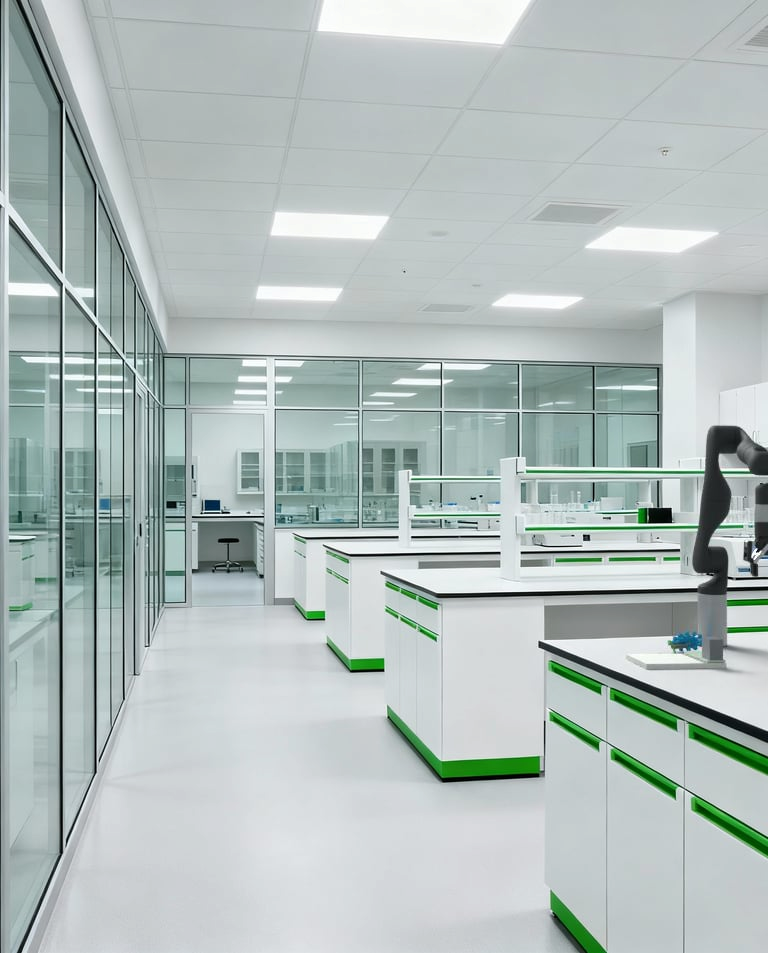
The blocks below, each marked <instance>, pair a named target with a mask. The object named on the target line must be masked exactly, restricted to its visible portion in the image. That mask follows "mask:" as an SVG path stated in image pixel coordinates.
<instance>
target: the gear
mask: <svg viewBox="0 0 768 953" xmlns="http://www.w3.org/2000/svg"><path fill="white" fill-rule="evenodd" d="M698 639H700V640H698ZM667 646H670V648H671V650H672V651H673V653H672V654H677V652H676V651H677V650H678V651H679V652H684V649H685V651H692V649H693V651H698V650H699V648H702V635H701V634H698V632H697V631H692V632H691V634H690V632H689V631H688V630H686V631H684V634H682V632H679V633H677V634H676V635H675V636H674V635H673V636H672V640H669V639H668V640H667ZM698 647H699V648H698Z"/></svg>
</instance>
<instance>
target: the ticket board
mask: <svg viewBox="0 0 768 953" xmlns="http://www.w3.org/2000/svg"><path fill="white" fill-rule="evenodd" d="M625 659H626V660H627V661H628V662H631V663H633V664H634V665H637V666H639V667H642V668H643V669H645V670H678V669H679V670H682V669H683V670H684V669H687V670H688V669H691V670H694V669H695V670H696V669H700V670H701V669H727V662H726V661H725V662H705V661H703V660H700V659H698V658H695V657H693V656H690V655H688V654H685V653H684V652H681V653H676V654H674V653H637V654H636V653H626V655H625Z"/></svg>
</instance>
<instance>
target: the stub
mask: <svg viewBox="0 0 768 953" xmlns="http://www.w3.org/2000/svg"><path fill="white" fill-rule="evenodd" d="M683 654H688V655H690V656H693V657H695V658H698V659H700V660H703V661H705V662H725V663H726V660H725V659H724V646H723V639H720V638H717V637H702V647H701V650H691V651H686V650H683Z"/></svg>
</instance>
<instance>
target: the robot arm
mask: <svg viewBox="0 0 768 953" xmlns="http://www.w3.org/2000/svg"><path fill="white" fill-rule="evenodd" d="M723 454H724V455H734V454H736V456H737V458H738V459H739V461H741V463H743V464H744V465H746V466H747V468H748V470H749V473H751V475H754V476H762V477H767V476H768V449H766V448H765V447H764V446H762V445H761V444H759V443H757V442H755V441H754V440H753V439H752V438H751V437H750V435H749V434H748V433H747V432H746V431H745V430H744V428H742V427H741V426H738V425H725V424H724V425H712V426H710V427H709V429H708V431H707V433H706V442H705V463H704V464H705V467H704V476H703V477H704V478H703V483H702V490H701V497H700V498H701V499H700V507H699V518H698V524H697V525H698V526H697V531H696V537H695V541H694V546H693V551H692V557H691V558H692V563H691V564H692V568H693V570H694V572H695V573H697V574H703V575H704V574H712V575H713V576H712V577H711V578H710V579H709V580H707V581H706V582H702V583H700V584H698V586H697V635H698V634H701V635H702V637H717V638H720V639H723V647H727V646H728V602H727V600H728V598H727V597H728V594H727V593H728V592H727V591H728V583H729V582H728V581H729V579H728V578H729V555H728V551H727V549H726V548H725V547H724V546H720V545H719V546H716V545H715V546H713V545H711V546H709V545H710V541H711V539H712V537H713V535H714V533H715V531H717V529H718V528H719V527H721V525H722V524H723V522H724V521H725V520H726V518H727V517H728V515H729V513H730V509H731V502H732V490H731V487H730V486H729V484H728V482H727V480H726V478H725V477H724V475H723V472H722V470H721V468H720V461H719V460H720V455H723ZM754 491H755V492H754V495H755V497H754V504H755V506H754V513H753V514H754V516H753V517H754V519H753V520H754V523H753V524H754V538H755V539H754V540H747V539H746V540H744V541H743V553H742V554H743V556H742V557H743V558H742V559H743V561H744V562H747V563H749V569H750V572H749V573H750V575H751V576H752V577H754V578H758V577H759V563H758V562H759V561H760V559H762V558H763V557H764V556H767V557H768V482H766V483H761V484H758V485H757V486H756V487H755V489H754ZM753 548H756V549H754V551H753ZM698 640H700V639H698Z"/></svg>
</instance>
